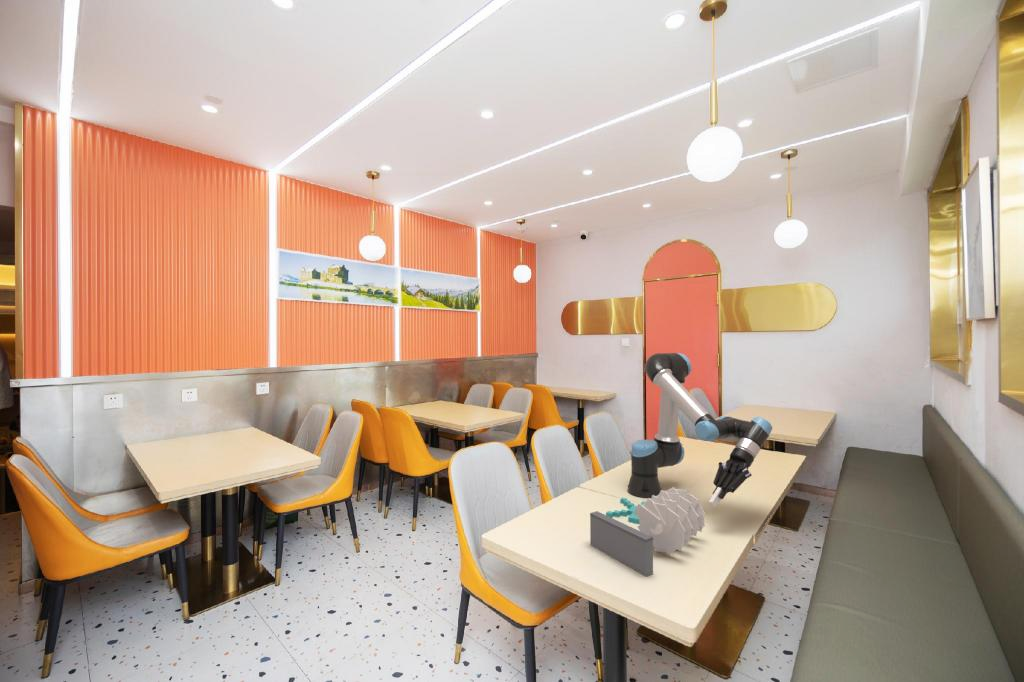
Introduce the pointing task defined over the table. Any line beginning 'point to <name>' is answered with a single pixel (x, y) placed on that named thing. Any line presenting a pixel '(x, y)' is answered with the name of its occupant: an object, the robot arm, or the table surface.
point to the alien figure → (626, 511)
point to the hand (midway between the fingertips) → (712, 504)
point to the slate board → (622, 542)
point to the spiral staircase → (670, 519)
